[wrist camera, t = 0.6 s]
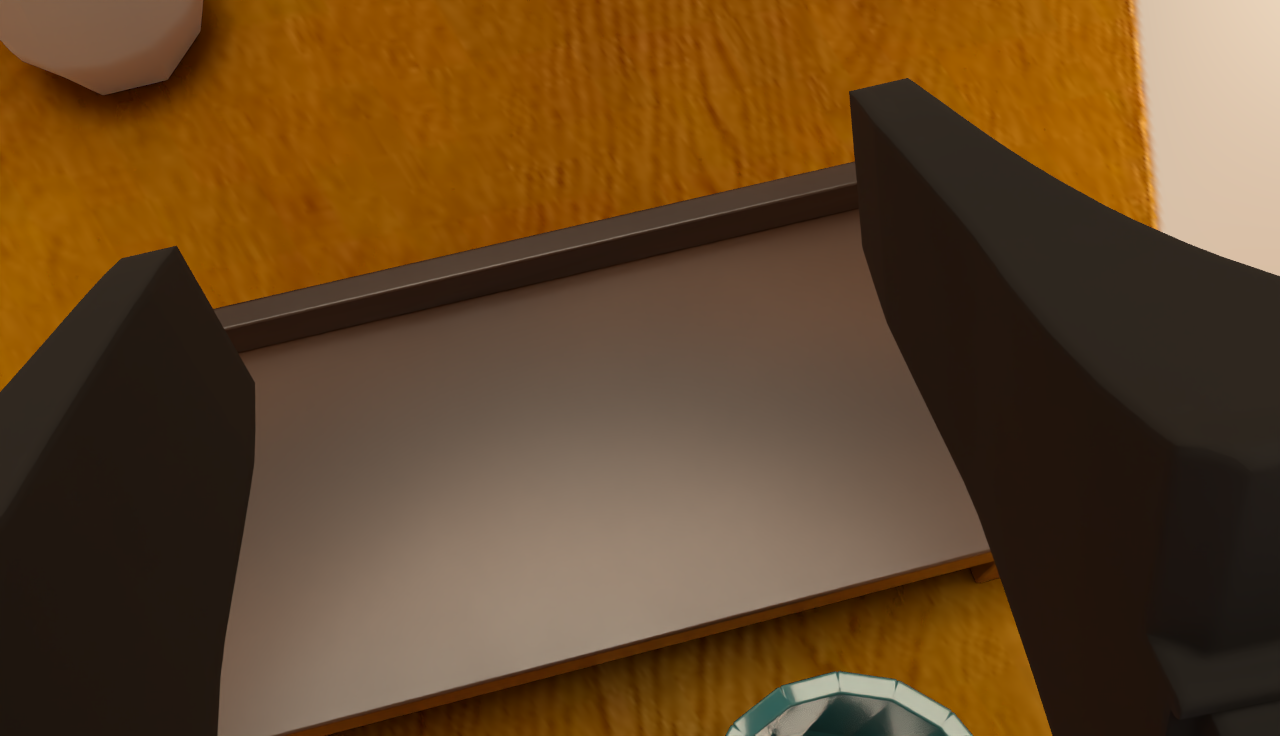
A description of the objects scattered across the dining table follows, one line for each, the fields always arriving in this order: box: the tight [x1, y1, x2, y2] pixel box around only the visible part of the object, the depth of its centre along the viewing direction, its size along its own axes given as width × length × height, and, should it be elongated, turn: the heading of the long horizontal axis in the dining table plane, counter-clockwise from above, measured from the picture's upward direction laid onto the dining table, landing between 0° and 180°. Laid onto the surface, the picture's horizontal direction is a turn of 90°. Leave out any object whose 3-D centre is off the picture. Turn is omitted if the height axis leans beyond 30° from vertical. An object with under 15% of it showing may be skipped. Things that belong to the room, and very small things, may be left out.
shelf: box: [213, 162, 1000, 736], centre depth 27 cm, size 9×18×5 cm, turn 104°
